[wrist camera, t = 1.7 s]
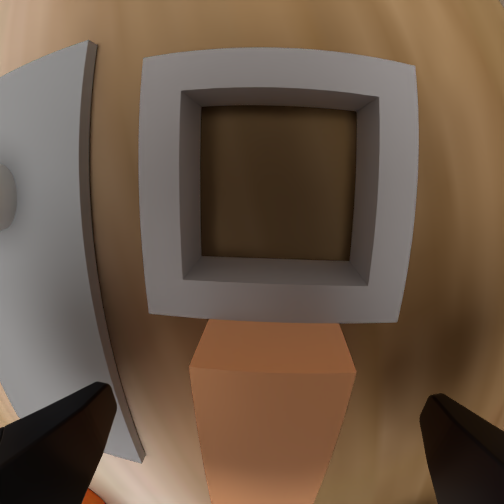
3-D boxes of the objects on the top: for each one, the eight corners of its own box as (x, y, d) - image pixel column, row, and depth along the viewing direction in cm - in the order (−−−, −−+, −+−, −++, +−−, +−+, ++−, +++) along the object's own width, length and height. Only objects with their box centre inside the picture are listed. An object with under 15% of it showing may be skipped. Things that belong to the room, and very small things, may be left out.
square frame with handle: (335, 451, 11) (345, 522, 7) (193, 445, 12) (173, 515, 8) (387, 84, 7) (456, 39, 3) (169, 78, 8) (102, 28, 4)
